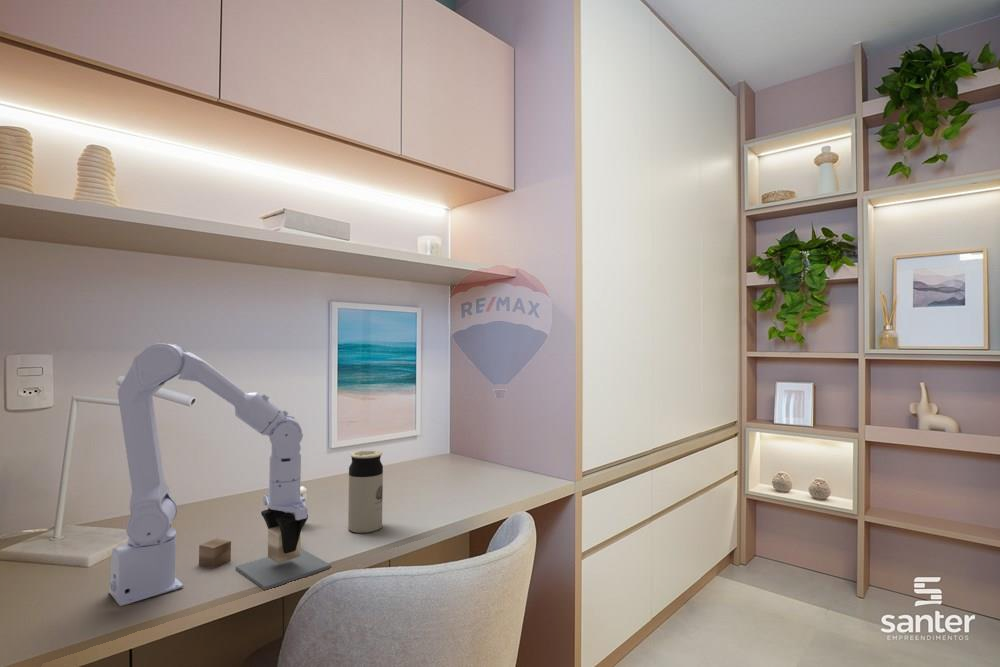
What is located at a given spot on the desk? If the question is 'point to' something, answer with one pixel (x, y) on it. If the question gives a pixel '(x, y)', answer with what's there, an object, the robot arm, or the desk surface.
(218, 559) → the walnut cube
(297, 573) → the mat
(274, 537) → the maple block
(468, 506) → the desk surface
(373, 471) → the travel mug
